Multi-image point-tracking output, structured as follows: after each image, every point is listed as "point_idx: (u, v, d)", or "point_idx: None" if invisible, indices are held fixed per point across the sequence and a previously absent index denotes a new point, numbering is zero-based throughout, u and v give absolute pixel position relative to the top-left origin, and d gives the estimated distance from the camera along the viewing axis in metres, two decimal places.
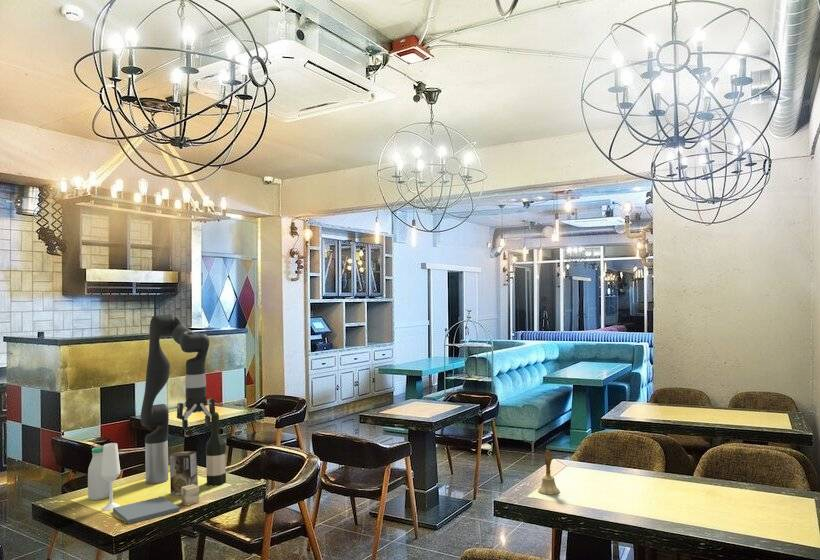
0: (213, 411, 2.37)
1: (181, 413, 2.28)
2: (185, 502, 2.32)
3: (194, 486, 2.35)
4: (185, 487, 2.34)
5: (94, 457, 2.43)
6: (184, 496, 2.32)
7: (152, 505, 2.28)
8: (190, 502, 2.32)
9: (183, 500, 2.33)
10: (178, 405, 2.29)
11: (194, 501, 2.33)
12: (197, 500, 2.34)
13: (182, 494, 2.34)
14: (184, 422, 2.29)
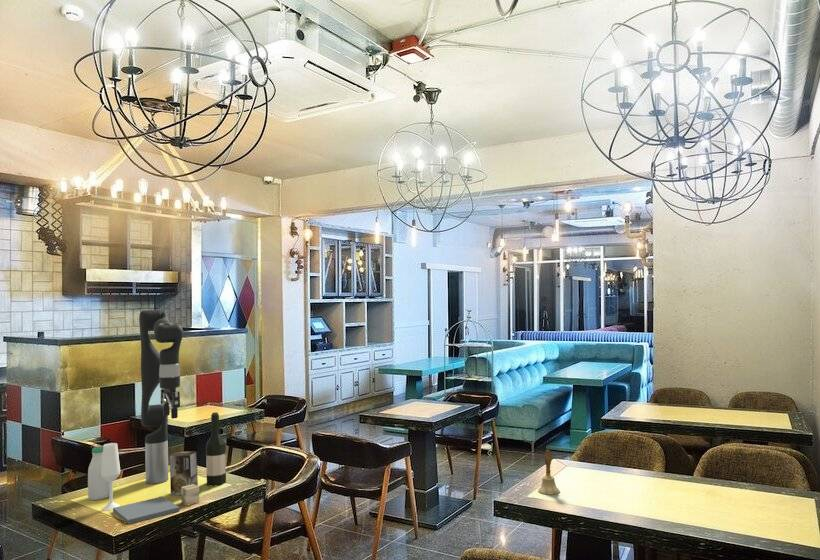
0: None
1: None
2: (185, 502, 2.32)
3: (194, 486, 2.35)
4: (185, 487, 2.34)
5: (94, 457, 2.43)
6: (184, 496, 2.32)
7: (152, 505, 2.28)
8: (190, 502, 2.32)
9: (183, 500, 2.33)
10: (176, 394, 2.32)
11: (194, 501, 2.33)
12: (197, 500, 2.34)
13: (182, 494, 2.34)
14: (176, 410, 2.34)
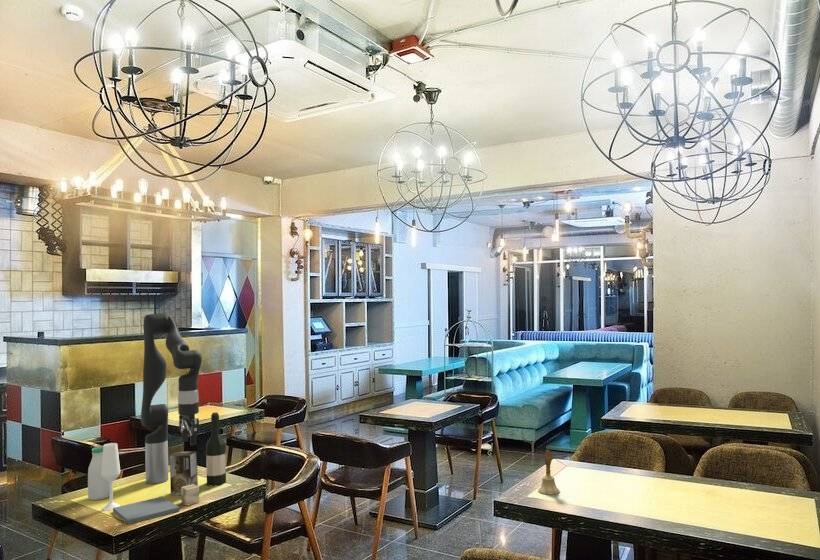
0: None
1: None
2: (185, 502, 2.32)
3: (194, 486, 2.35)
4: (185, 487, 2.34)
5: (94, 457, 2.43)
6: (184, 496, 2.32)
7: (152, 505, 2.28)
8: (190, 502, 2.32)
9: (183, 500, 2.33)
10: (195, 421, 2.31)
11: (194, 501, 2.33)
12: (197, 500, 2.34)
13: (182, 494, 2.34)
14: (195, 437, 2.32)
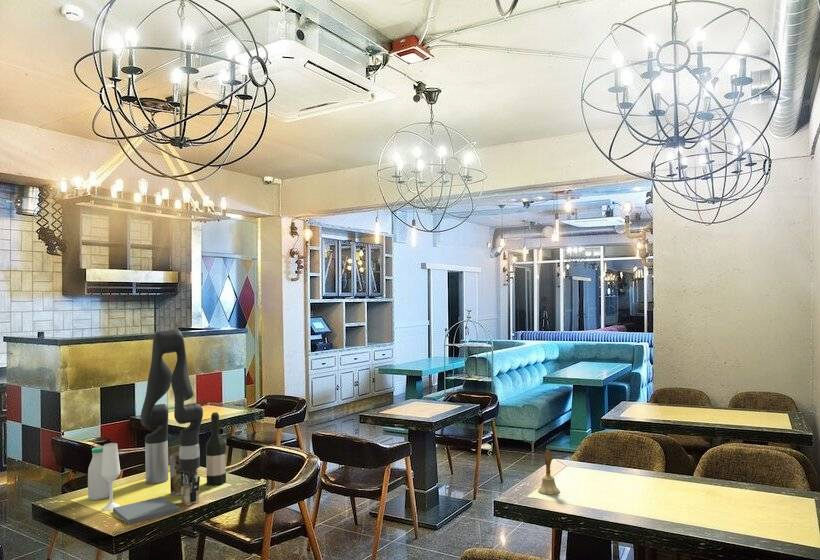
0: None
1: None
2: (185, 502, 2.32)
3: None
4: (185, 487, 2.34)
5: (94, 457, 2.43)
6: (184, 496, 2.32)
7: (152, 505, 2.28)
8: (190, 502, 2.32)
9: (183, 500, 2.33)
10: (196, 479, 2.30)
11: None
12: (197, 500, 2.34)
13: (182, 494, 2.34)
14: None
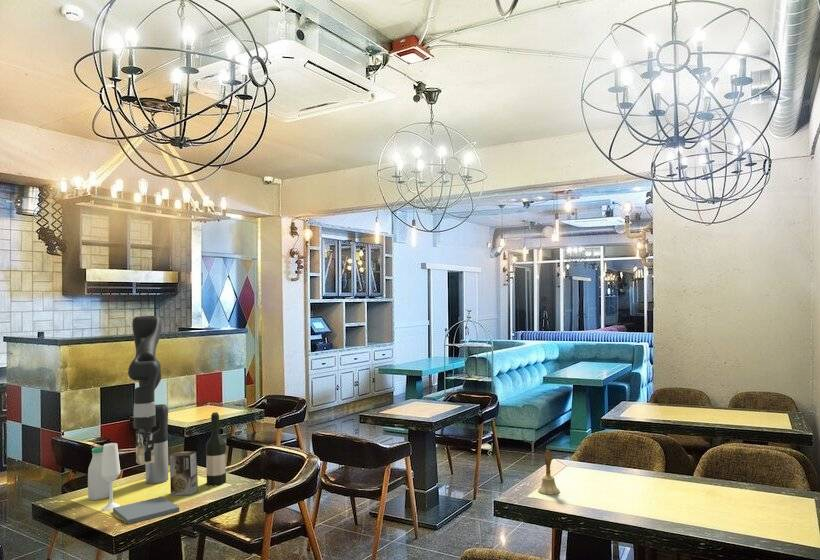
0: None
1: None
2: (139, 461, 2.23)
3: None
4: (140, 446, 2.26)
5: (94, 457, 2.43)
6: (139, 455, 2.24)
7: (152, 505, 2.28)
8: (144, 462, 2.24)
9: (137, 460, 2.25)
10: (150, 438, 2.21)
11: (149, 461, 2.25)
12: (152, 460, 2.26)
13: (137, 454, 2.26)
14: None
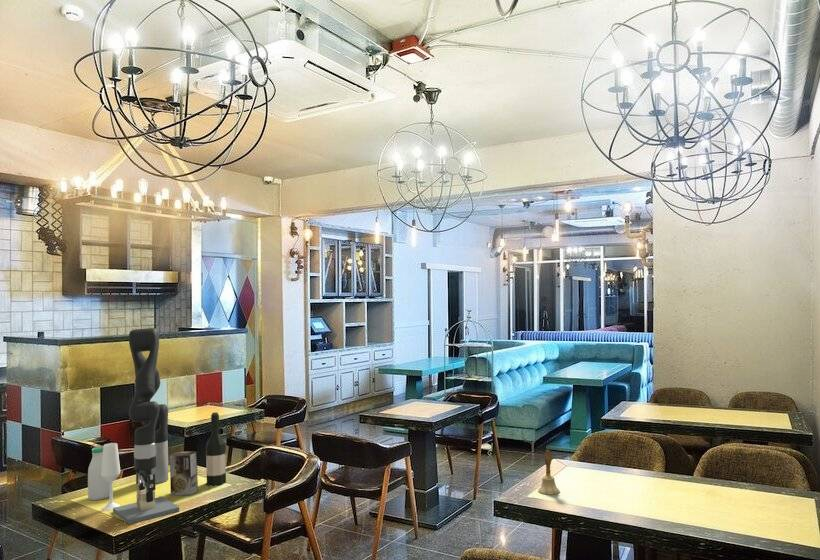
0: None
1: None
2: (140, 507, 2.23)
3: None
4: (140, 491, 2.25)
5: (94, 457, 2.43)
6: (139, 501, 2.23)
7: None
8: (145, 507, 2.23)
9: (138, 505, 2.24)
10: (151, 477, 2.21)
11: (149, 506, 2.24)
12: (153, 505, 2.25)
13: (137, 499, 2.25)
14: (151, 493, 2.22)
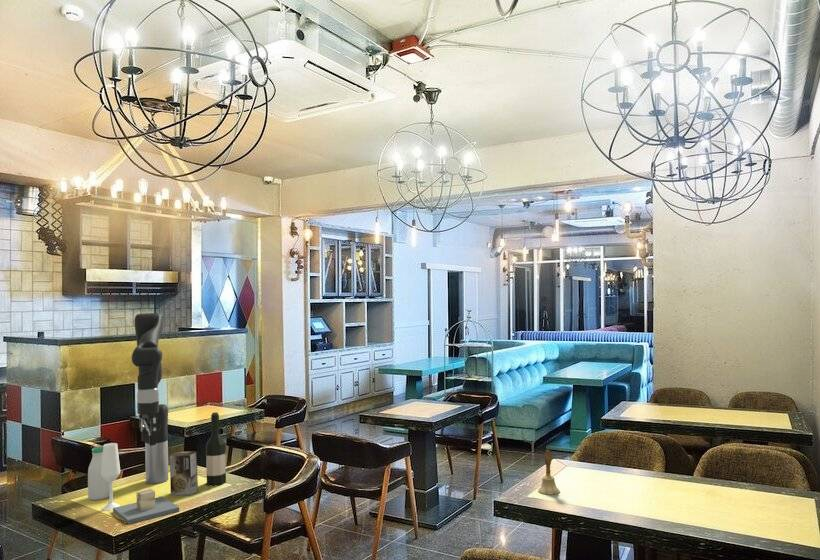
0: None
1: None
2: (140, 507, 2.23)
3: (150, 490, 2.26)
4: (140, 491, 2.25)
5: (94, 457, 2.43)
6: (139, 501, 2.23)
7: None
8: (145, 507, 2.23)
9: (138, 505, 2.24)
10: (154, 420, 2.24)
11: (149, 506, 2.24)
12: (153, 505, 2.25)
13: (137, 499, 2.25)
14: (154, 437, 2.25)
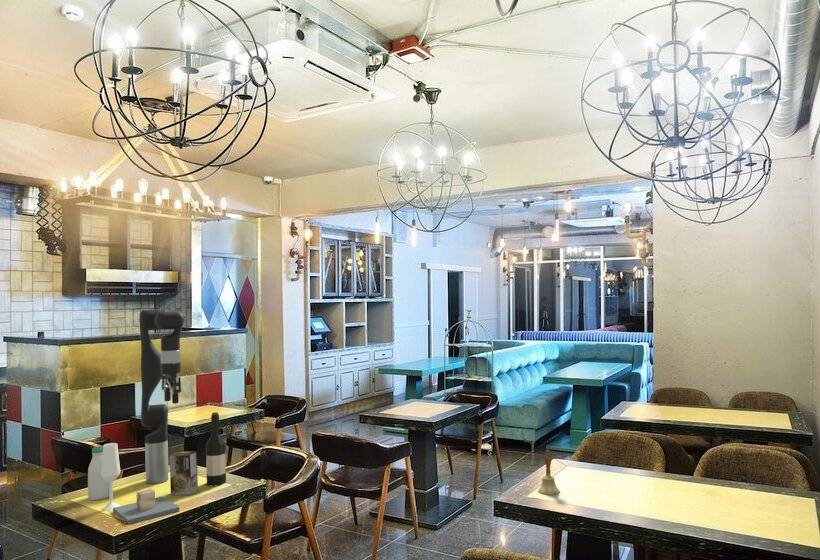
0: None
1: None
2: (140, 507, 2.23)
3: (150, 490, 2.26)
4: (140, 491, 2.25)
5: (94, 457, 2.43)
6: (139, 501, 2.23)
7: None
8: (145, 507, 2.23)
9: (138, 505, 2.24)
10: (177, 379, 2.37)
11: (149, 506, 2.24)
12: (153, 505, 2.25)
13: (137, 499, 2.25)
14: None
